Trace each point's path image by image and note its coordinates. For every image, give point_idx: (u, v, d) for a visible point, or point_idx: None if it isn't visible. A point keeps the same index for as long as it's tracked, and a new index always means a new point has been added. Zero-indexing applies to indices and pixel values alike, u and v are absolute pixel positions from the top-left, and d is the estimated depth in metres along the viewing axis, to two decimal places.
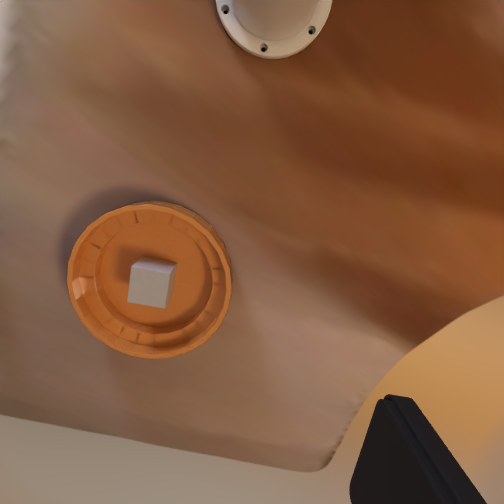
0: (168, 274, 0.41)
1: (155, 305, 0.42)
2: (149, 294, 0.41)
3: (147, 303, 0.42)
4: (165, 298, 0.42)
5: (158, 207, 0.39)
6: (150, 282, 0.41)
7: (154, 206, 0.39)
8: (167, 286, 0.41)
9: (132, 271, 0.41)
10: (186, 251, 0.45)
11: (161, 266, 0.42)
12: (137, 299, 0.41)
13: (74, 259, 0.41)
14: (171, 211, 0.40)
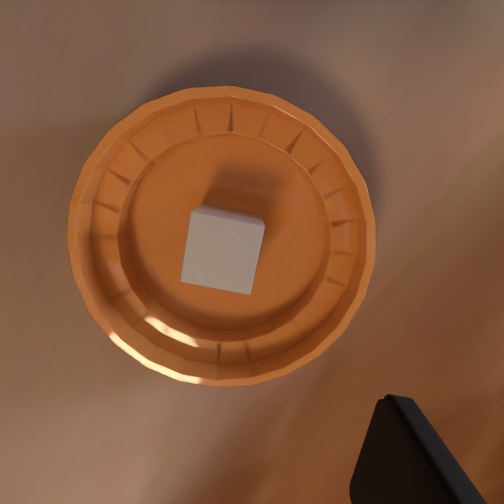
0: (248, 292, 0.22)
1: (185, 264, 0.22)
2: (208, 255, 0.22)
3: (189, 250, 0.21)
4: (200, 284, 0.22)
5: (368, 277, 0.23)
6: (232, 258, 0.22)
7: (370, 270, 0.22)
8: (224, 288, 0.22)
9: (254, 227, 0.21)
10: (269, 289, 0.27)
11: None
12: (197, 232, 0.21)
13: (277, 108, 0.20)
14: (358, 297, 0.23)
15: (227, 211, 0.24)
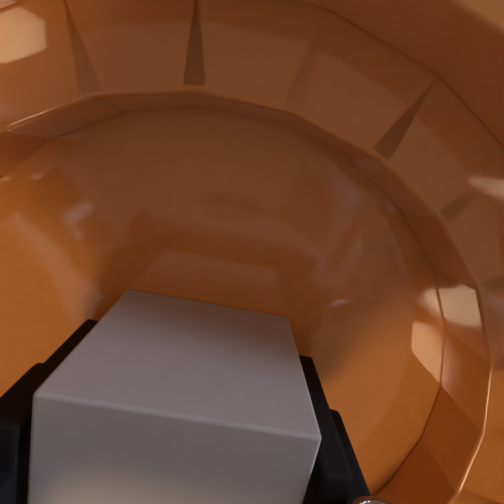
0: None
1: None
2: None
3: None
4: None
5: None
6: None
7: None
8: None
9: (284, 444, 0.06)
10: None
11: None
12: (64, 463, 0.06)
13: None
14: None
15: (193, 326, 0.08)
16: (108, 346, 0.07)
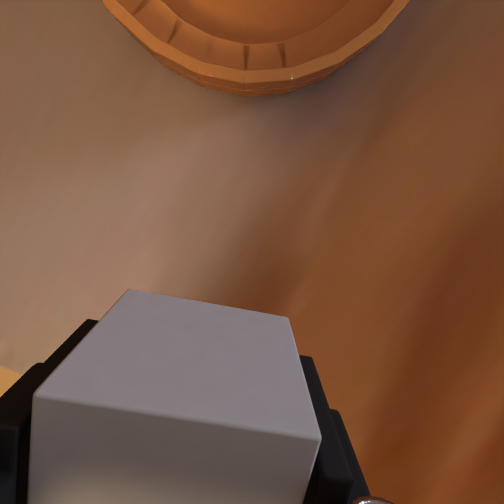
0: None
1: None
2: None
3: None
4: None
5: None
6: None
7: None
8: None
9: (284, 444, 0.06)
10: None
11: None
12: (64, 463, 0.06)
13: None
14: None
15: (193, 326, 0.08)
16: (108, 346, 0.07)
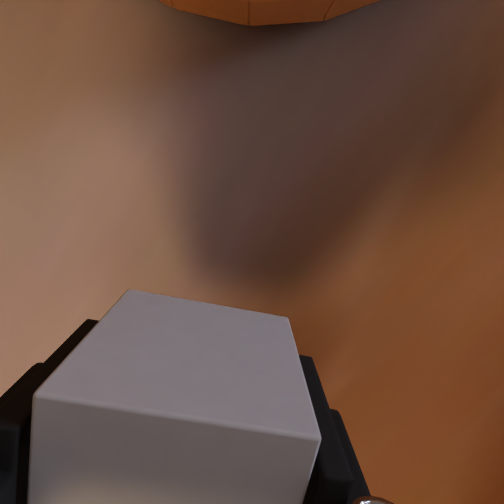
0: None
1: None
2: None
3: None
4: None
5: None
6: None
7: None
8: None
9: (284, 444, 0.06)
10: None
11: None
12: (64, 464, 0.06)
13: None
14: None
15: (193, 326, 0.08)
16: (108, 346, 0.07)
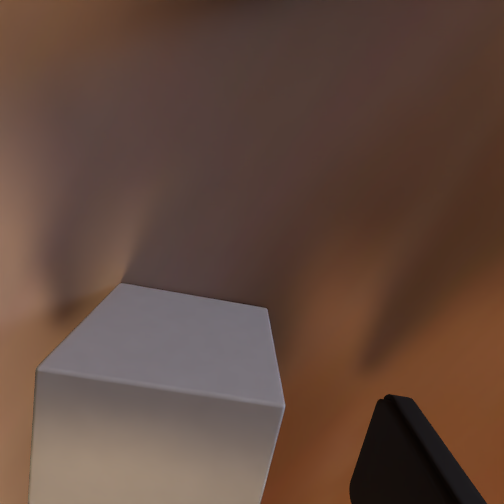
0: None
1: None
2: (107, 491, 0.07)
3: (43, 480, 0.07)
4: None
5: None
6: (183, 497, 0.07)
7: None
8: None
9: (253, 411, 0.06)
10: None
11: None
12: (63, 429, 0.06)
13: None
14: None
15: (178, 315, 0.09)
16: (101, 331, 0.08)
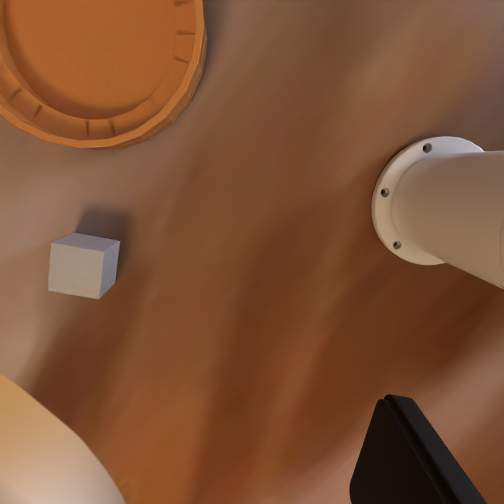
0: (97, 297, 0.32)
1: (50, 278, 0.31)
2: (66, 272, 0.31)
3: (52, 269, 0.31)
4: (62, 292, 0.31)
5: (199, 39, 0.27)
6: (83, 274, 0.31)
7: (201, 33, 0.27)
8: (80, 295, 0.32)
9: (97, 253, 0.31)
10: (135, 81, 0.31)
11: (107, 277, 0.33)
12: (56, 256, 0.31)
13: None
14: (194, 60, 0.27)
15: (88, 239, 0.33)
16: (65, 239, 0.32)
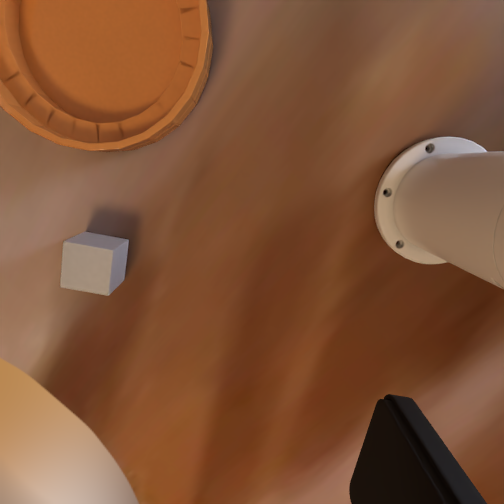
0: (106, 293, 0.33)
1: (62, 275, 0.32)
2: (77, 269, 0.32)
3: (64, 266, 0.32)
4: (74, 288, 0.33)
5: (204, 45, 0.28)
6: (93, 271, 0.32)
7: (206, 39, 0.28)
8: (90, 291, 0.33)
9: (106, 251, 0.32)
10: (143, 86, 0.32)
11: (117, 275, 0.34)
12: (68, 254, 0.32)
13: None
14: (199, 65, 0.28)
15: (98, 238, 0.35)
16: (77, 238, 0.33)
